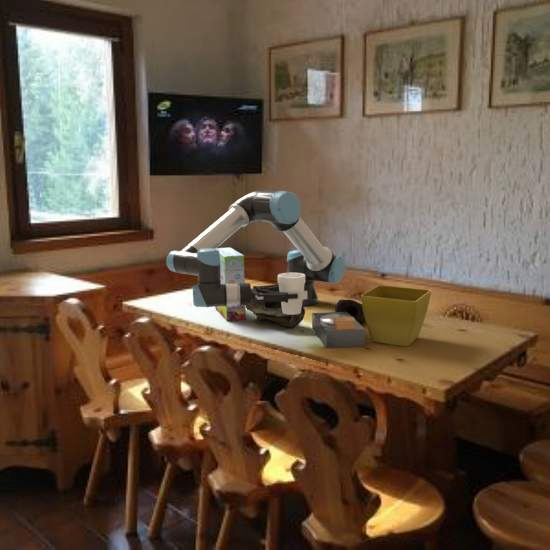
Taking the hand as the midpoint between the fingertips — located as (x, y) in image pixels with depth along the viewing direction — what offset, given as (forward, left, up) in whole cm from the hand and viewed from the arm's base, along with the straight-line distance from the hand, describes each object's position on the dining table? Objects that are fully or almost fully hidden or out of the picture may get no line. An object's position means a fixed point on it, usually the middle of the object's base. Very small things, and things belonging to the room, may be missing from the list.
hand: (304, 291), depth 210 cm
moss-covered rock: (-22, -7, -17) cm, 28 cm away
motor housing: (0, +12, -17) cm, 20 cm away
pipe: (-22, +23, -17) cm, 36 cm away
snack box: (-39, -23, -17) cm, 49 cm away
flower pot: (+6, +31, -17) cm, 36 cm away
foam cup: (0, -4, -7) cm, 8 cm away
